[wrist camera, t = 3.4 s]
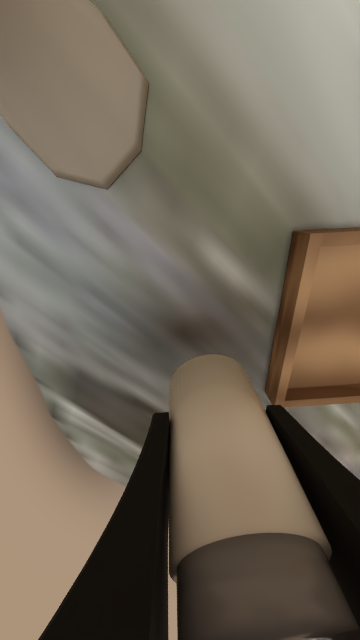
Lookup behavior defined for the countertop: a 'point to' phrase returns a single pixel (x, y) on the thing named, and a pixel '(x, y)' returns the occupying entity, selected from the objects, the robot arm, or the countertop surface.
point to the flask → (71, 88)
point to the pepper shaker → (242, 519)
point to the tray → (318, 322)
